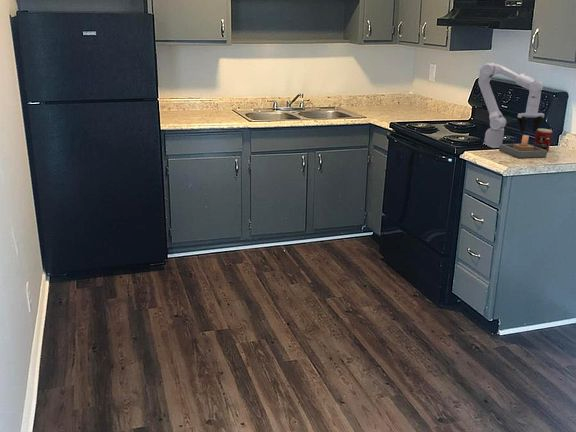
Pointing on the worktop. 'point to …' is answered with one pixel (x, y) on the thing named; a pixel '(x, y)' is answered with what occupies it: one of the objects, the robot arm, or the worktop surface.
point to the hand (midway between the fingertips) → (528, 131)
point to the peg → (524, 140)
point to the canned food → (543, 138)
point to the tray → (523, 151)
